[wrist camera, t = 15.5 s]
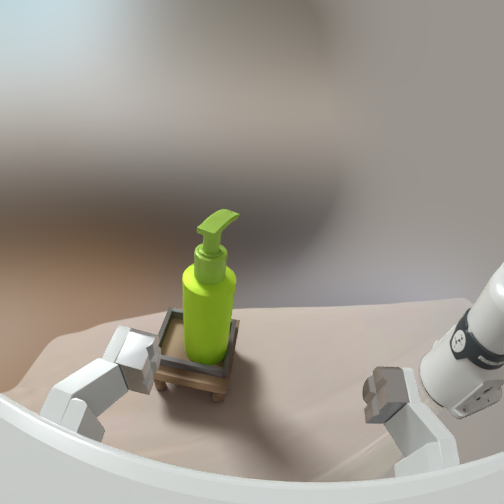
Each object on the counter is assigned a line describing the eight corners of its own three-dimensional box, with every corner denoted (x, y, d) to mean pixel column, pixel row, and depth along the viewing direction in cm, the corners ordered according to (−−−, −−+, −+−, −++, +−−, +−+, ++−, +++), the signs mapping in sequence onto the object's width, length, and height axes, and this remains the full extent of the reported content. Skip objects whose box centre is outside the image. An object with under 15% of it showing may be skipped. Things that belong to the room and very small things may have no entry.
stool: (235, 343, 49) (240, 313, 45) (224, 406, 40) (228, 382, 35) (171, 331, 50) (169, 300, 45) (150, 390, 40) (143, 363, 35)
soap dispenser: (237, 338, 43) (257, 215, 32) (213, 372, 38) (225, 247, 26) (202, 321, 45) (208, 199, 33) (176, 352, 39) (170, 226, 28)
